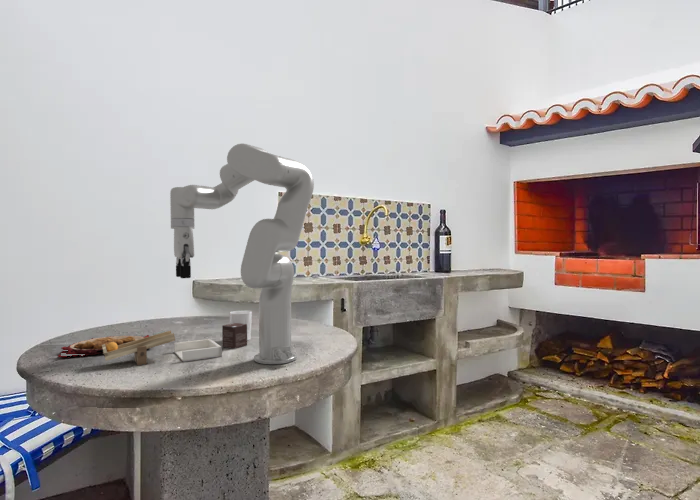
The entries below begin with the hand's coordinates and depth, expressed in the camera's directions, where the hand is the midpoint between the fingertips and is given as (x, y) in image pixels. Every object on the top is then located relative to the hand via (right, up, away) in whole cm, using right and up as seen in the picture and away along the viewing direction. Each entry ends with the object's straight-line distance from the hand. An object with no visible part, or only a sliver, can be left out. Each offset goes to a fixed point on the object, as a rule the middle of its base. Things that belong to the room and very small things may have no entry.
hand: (183, 276), depth 154 cm
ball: (-12, -19, -22) cm, 32 cm away
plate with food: (-26, -25, +1) cm, 36 cm away
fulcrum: (-6, -24, -18) cm, 31 cm away
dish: (+8, -24, -10) cm, 27 cm away
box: (+17, -24, +1) cm, 29 cm away
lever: (-8, -20, -15) cm, 27 cm away
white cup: (+17, -24, +12) cm, 31 cm away
